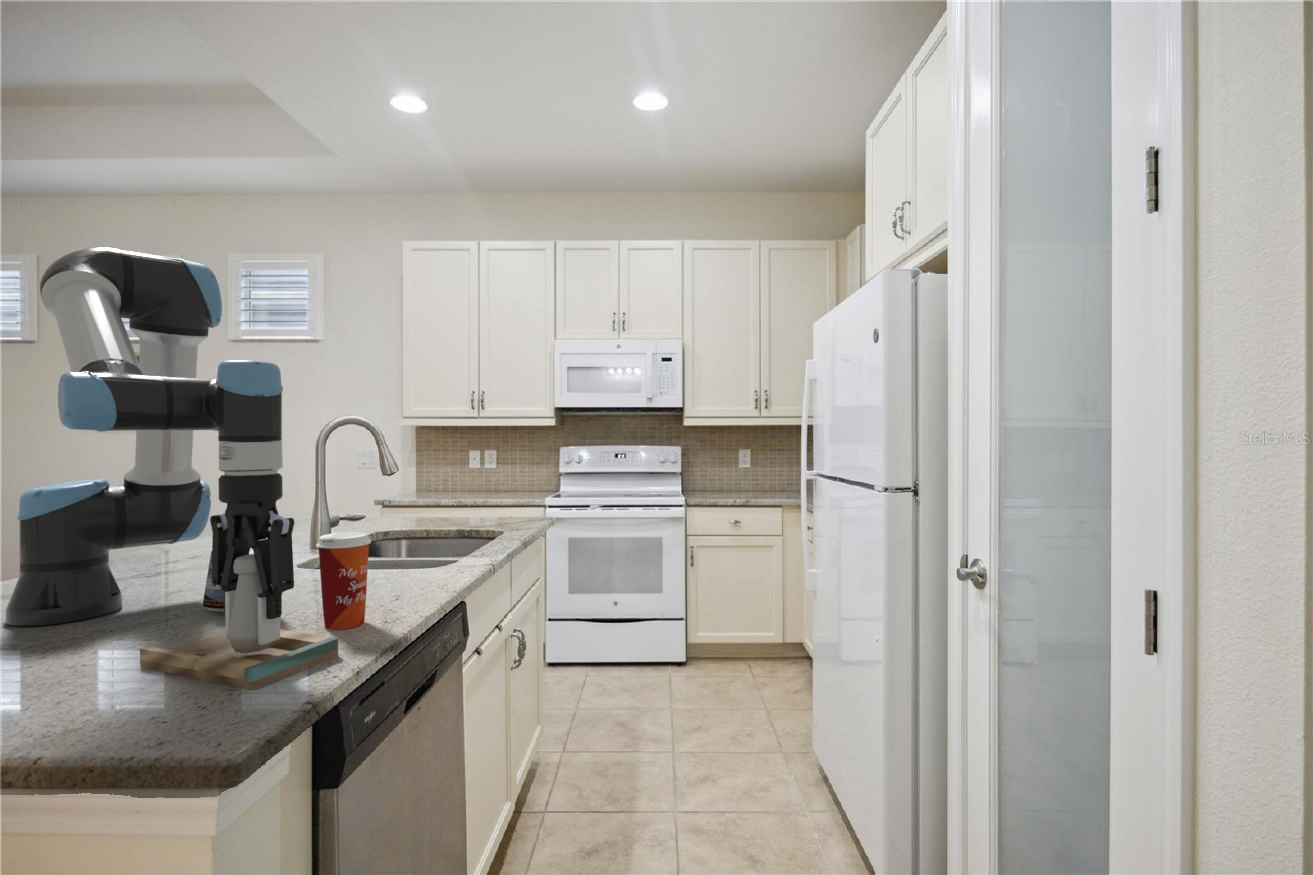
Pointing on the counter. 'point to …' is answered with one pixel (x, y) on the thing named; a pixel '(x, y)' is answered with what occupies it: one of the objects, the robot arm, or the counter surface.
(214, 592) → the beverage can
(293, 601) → the counter surface
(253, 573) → the salt shaker
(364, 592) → the coffee cup
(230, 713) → the counter surface
